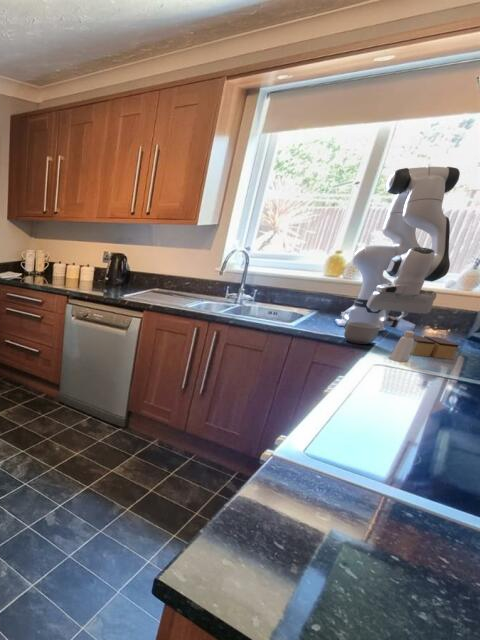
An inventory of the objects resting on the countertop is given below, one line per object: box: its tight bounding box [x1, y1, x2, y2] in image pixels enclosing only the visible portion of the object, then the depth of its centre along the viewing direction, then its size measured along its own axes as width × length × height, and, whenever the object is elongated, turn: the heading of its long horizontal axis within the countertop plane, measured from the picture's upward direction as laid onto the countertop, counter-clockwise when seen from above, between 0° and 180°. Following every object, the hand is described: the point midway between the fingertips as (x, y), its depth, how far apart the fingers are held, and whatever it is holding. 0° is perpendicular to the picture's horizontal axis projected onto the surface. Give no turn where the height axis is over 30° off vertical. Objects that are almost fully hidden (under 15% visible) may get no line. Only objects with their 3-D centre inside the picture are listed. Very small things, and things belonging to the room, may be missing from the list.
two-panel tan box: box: [401, 333, 459, 360], centre depth 170 cm, size 12×12×6 cm
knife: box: [383, 315, 418, 334], centre depth 175 cm, size 22×2×4 cm, turn 157°
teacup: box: [343, 321, 380, 345], centre depth 184 cm, size 14×11×8 cm
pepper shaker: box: [388, 331, 416, 363], centre depth 159 cm, size 5×5×11 cm
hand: (391, 321), depth 181 cm, fingers closed on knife, 2 cm apart
